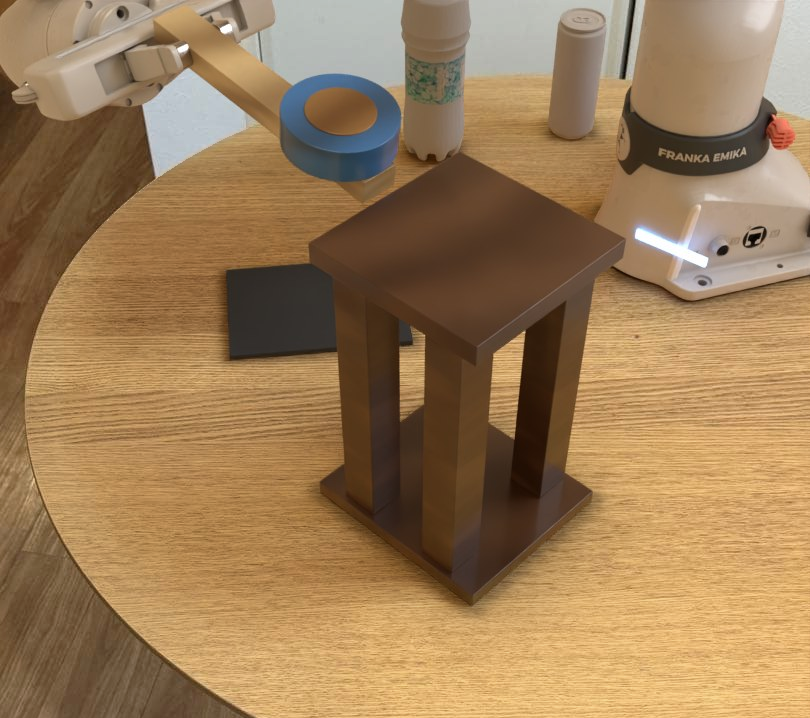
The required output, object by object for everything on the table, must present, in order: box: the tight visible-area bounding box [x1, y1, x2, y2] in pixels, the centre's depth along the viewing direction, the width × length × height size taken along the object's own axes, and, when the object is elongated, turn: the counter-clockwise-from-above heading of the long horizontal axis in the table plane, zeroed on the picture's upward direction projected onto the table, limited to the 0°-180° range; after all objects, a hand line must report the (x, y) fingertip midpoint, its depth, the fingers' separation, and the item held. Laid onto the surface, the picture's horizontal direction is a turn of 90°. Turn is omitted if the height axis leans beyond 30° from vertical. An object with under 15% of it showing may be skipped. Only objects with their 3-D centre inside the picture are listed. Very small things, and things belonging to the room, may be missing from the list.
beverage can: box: [547, 7, 608, 140], centre depth 118 cm, size 5×5×12 cm
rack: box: [307, 151, 626, 607], centre depth 81 cm, size 16×14×24 cm
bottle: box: [400, 0, 472, 162], centre depth 113 cm, size 7×7×20 cm
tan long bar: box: [153, 5, 403, 205], centre depth 80 cm, size 22×8×4 cm, turn 45°
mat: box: [225, 262, 414, 361], centre depth 104 cm, size 16×12×1 cm
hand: (207, 44), depth 82 cm, fingers closed on tan long bar, 3 cm apart
